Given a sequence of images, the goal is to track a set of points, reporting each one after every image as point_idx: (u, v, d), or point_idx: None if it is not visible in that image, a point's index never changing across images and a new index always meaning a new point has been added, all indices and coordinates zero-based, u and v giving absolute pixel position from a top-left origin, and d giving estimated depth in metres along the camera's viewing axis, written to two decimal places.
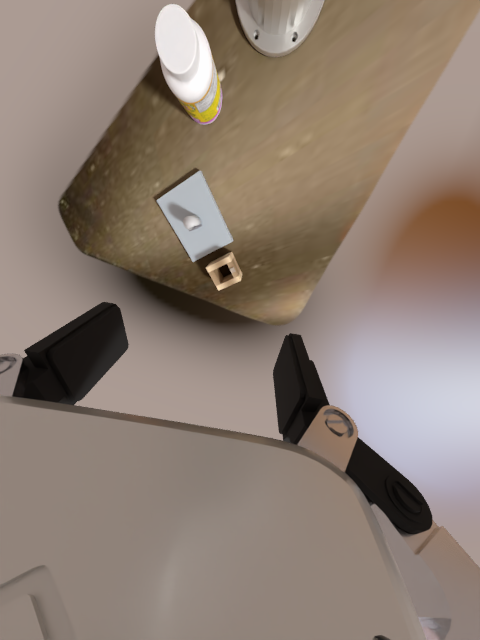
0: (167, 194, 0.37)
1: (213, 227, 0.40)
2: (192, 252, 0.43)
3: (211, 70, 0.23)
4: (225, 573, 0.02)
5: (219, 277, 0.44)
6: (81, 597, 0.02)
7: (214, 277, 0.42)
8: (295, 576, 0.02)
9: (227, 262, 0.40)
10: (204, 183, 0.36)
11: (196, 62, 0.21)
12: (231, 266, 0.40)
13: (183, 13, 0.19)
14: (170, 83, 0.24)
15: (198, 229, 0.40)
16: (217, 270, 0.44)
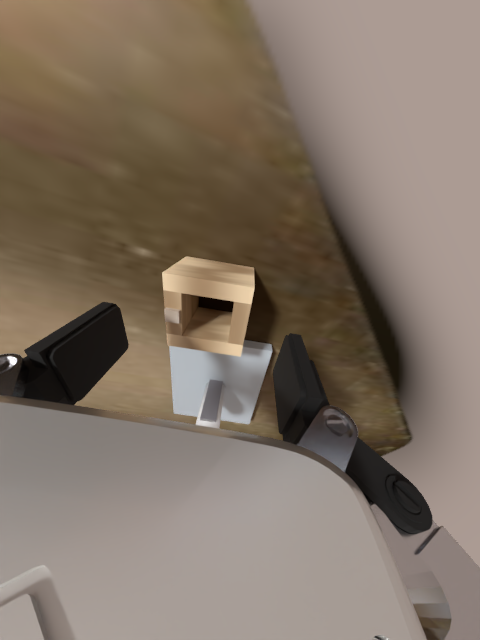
0: (230, 420, 0.26)
1: (192, 368, 0.21)
2: (259, 362, 0.20)
3: None
4: (225, 573, 0.02)
5: None
6: (81, 597, 0.02)
7: (236, 325, 0.13)
8: (295, 576, 0.02)
9: (178, 336, 0.14)
10: (175, 404, 0.25)
11: None
12: (172, 323, 0.14)
13: None
14: None
15: (219, 379, 0.22)
16: None
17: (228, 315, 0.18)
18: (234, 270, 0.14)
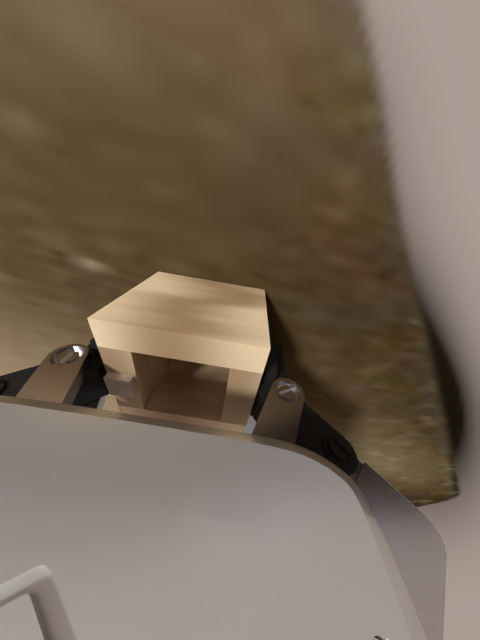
0: None
1: None
2: None
3: None
4: (225, 573, 0.02)
5: None
6: (81, 596, 0.02)
7: (235, 401, 0.08)
8: (295, 576, 0.02)
9: (138, 410, 0.08)
10: None
11: None
12: None
13: None
14: None
15: None
16: None
17: None
18: (232, 298, 0.09)
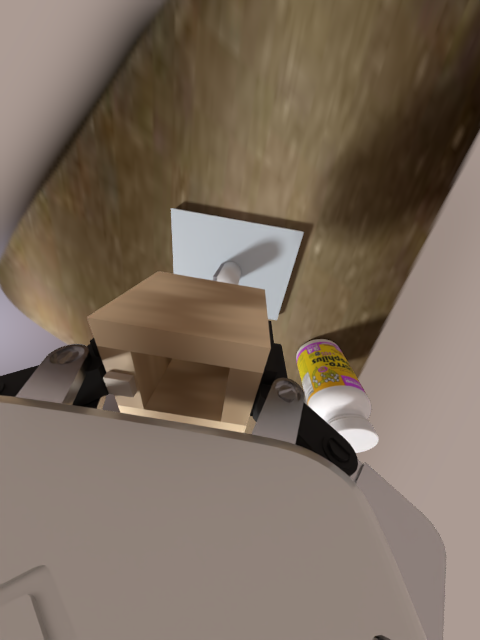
0: (293, 258, 0.20)
1: None
2: (188, 222, 0.19)
3: None
4: (225, 573, 0.02)
5: None
6: (81, 597, 0.02)
7: (235, 400, 0.08)
8: (295, 576, 0.02)
9: (138, 409, 0.08)
10: None
11: None
12: None
13: None
14: (345, 397, 0.19)
15: (218, 266, 0.21)
16: None
17: None
18: (232, 298, 0.09)
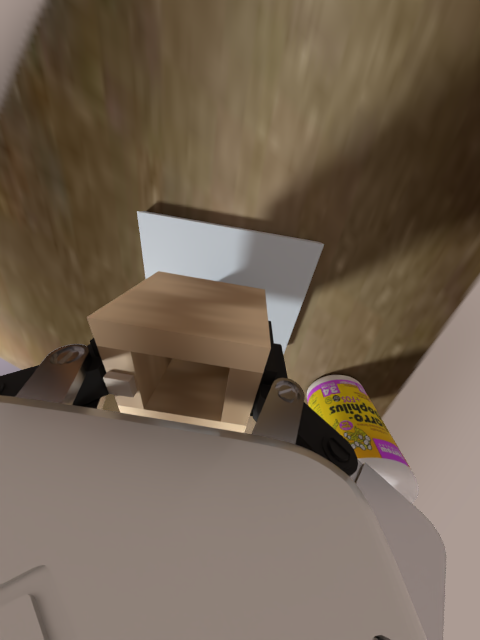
0: (307, 279, 0.15)
1: None
2: (163, 231, 0.14)
3: None
4: (225, 573, 0.02)
5: None
6: (81, 597, 0.02)
7: (235, 401, 0.07)
8: (295, 576, 0.02)
9: (138, 410, 0.08)
10: None
11: None
12: None
13: None
14: None
15: None
16: None
17: None
18: (232, 298, 0.09)
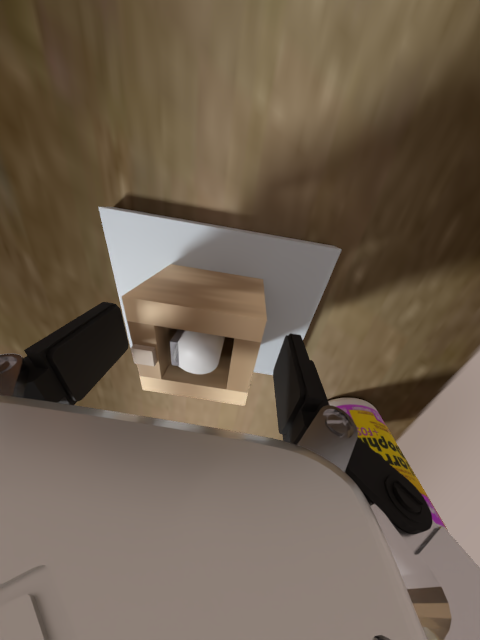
0: (319, 293, 0.12)
1: None
2: (134, 232, 0.11)
3: None
4: (225, 573, 0.02)
5: None
6: (81, 597, 0.02)
7: (238, 369, 0.09)
8: (295, 576, 0.02)
9: (156, 380, 0.10)
10: (264, 370, 0.16)
11: None
12: None
13: None
14: None
15: None
16: None
17: (228, 340, 0.14)
18: (235, 285, 0.10)
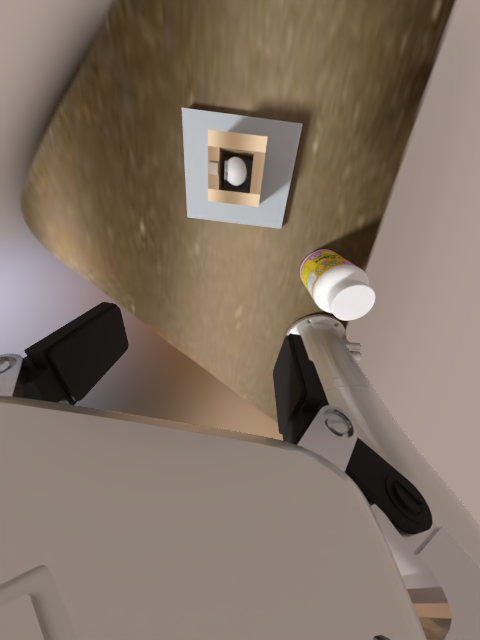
0: (294, 155, 0.23)
1: None
2: (198, 122, 0.21)
3: (318, 305, 0.25)
4: (225, 573, 0.02)
5: None
6: (81, 596, 0.02)
7: (255, 174, 0.20)
8: (295, 576, 0.02)
9: (216, 191, 0.21)
10: (267, 224, 0.27)
11: (329, 307, 0.22)
12: (212, 178, 0.20)
13: (355, 317, 0.22)
14: (345, 271, 0.21)
15: None
16: None
17: None
18: None
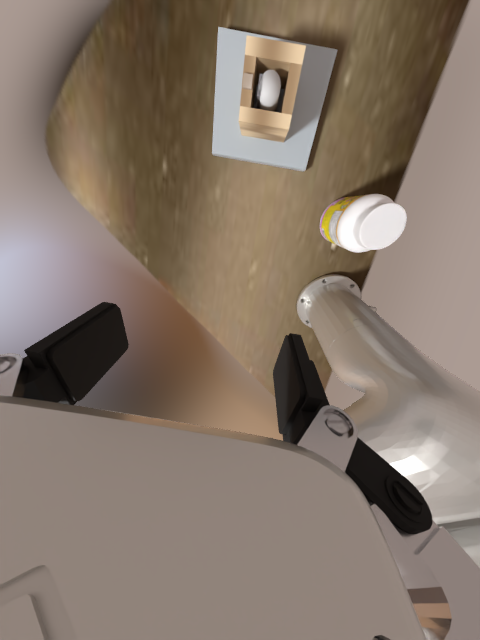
0: (325, 85, 0.23)
1: None
2: (233, 44, 0.21)
3: (341, 243, 0.24)
4: (225, 573, 0.02)
5: (285, 87, 0.21)
6: (81, 597, 0.02)
7: (289, 90, 0.20)
8: (295, 576, 0.02)
9: (247, 109, 0.21)
10: (291, 164, 0.27)
11: (356, 235, 0.21)
12: (245, 93, 0.20)
13: (382, 246, 0.21)
14: (375, 197, 0.21)
15: (256, 101, 0.24)
16: None
17: None
18: None
